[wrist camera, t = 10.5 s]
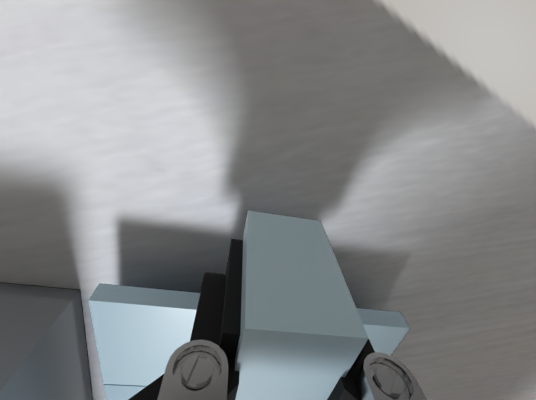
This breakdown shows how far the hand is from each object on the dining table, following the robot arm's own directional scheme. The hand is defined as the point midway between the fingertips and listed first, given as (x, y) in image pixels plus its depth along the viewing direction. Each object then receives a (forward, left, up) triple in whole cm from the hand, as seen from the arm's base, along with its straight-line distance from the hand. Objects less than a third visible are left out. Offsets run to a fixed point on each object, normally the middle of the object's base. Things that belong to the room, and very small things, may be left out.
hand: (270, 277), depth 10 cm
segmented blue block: (0, +8, -1) cm, 8 cm away
